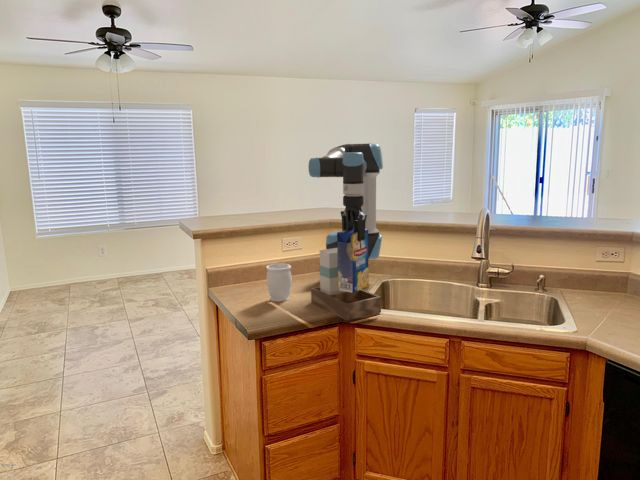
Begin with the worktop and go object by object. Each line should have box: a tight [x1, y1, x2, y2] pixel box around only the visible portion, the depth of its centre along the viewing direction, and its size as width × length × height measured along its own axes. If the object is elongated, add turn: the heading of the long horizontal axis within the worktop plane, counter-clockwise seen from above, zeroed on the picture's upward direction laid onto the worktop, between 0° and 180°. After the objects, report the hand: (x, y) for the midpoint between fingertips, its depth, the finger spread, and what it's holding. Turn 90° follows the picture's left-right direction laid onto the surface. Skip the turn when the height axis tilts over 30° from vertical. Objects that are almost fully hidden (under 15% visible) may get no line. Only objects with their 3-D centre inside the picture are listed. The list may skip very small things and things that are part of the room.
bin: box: [310, 286, 382, 324], centre depth 183 cm, size 16×25×7 cm, turn 32°
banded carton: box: [319, 248, 346, 295], centre depth 187 cm, size 11×7×22 cm, turn 122°
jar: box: [266, 262, 293, 304], centre depth 195 cm, size 11×10×15 cm
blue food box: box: [336, 229, 370, 293], centre depth 175 cm, size 7×11×22 cm, turn 144°
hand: (353, 257), depth 175 cm, fingers closed on blue food box, 3 cm apart
